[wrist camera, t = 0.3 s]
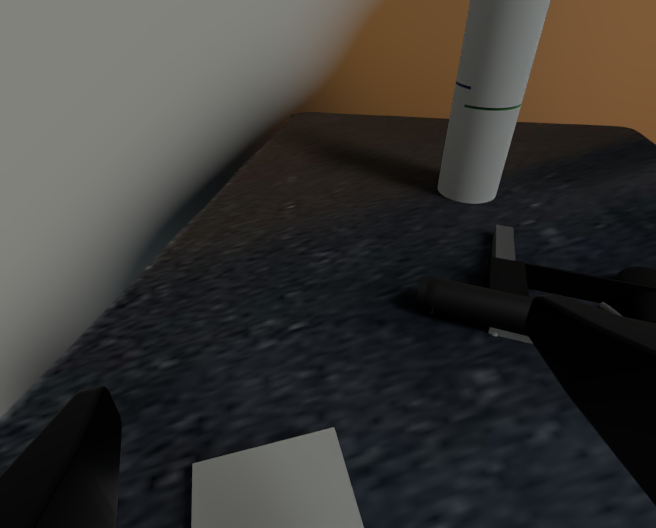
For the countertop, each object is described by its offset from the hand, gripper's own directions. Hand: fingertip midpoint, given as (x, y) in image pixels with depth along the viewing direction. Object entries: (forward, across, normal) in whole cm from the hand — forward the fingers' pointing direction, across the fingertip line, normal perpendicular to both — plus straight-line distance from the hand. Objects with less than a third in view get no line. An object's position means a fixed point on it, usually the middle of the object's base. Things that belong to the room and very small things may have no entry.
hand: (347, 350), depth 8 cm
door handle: (+16, -23, +15) cm, 32 cm away
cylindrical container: (+34, -28, +12) cm, 46 cm away
